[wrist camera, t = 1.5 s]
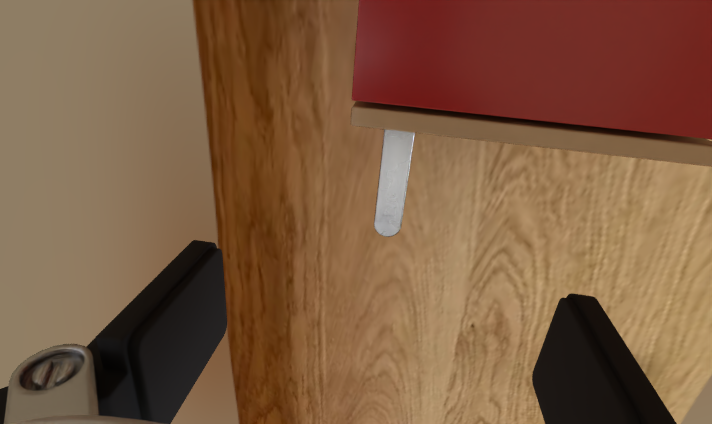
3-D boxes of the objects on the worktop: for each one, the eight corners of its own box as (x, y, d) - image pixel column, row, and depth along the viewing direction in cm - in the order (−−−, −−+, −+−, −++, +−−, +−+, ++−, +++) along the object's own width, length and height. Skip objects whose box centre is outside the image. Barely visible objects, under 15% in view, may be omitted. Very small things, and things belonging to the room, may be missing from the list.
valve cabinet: (578, 77, 29) (733, 142, 15) (382, 58, 30) (351, 100, 16) (620, -56, 26) (876, -140, 11) (395, -73, 27) (371, -167, 12)
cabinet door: (549, 173, 32) (650, 298, 18) (372, 152, 33) (340, 254, 19) (578, 81, 29) (727, 147, 15) (381, 61, 30) (351, 106, 16)
